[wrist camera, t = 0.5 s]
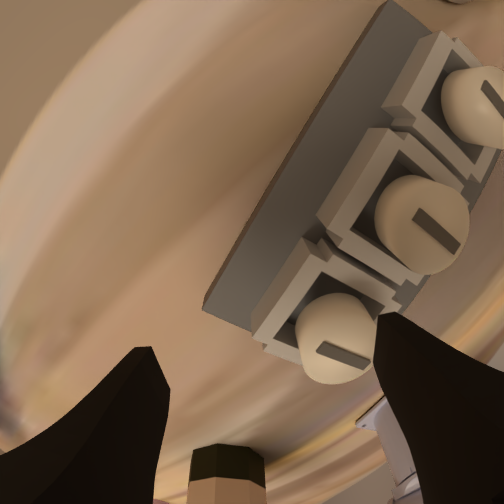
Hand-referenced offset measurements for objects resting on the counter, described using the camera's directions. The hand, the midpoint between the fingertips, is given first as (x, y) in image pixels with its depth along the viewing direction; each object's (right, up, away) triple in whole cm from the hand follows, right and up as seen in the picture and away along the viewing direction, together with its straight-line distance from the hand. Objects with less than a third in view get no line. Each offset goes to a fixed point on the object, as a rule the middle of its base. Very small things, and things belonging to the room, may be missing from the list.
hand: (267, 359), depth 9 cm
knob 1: (+4, -1, +7) cm, 8 cm away
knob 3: (+11, +11, +2) cm, 15 cm away
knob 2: (+7, +5, +4) cm, 10 cm away
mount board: (+7, +7, +8) cm, 13 cm away
